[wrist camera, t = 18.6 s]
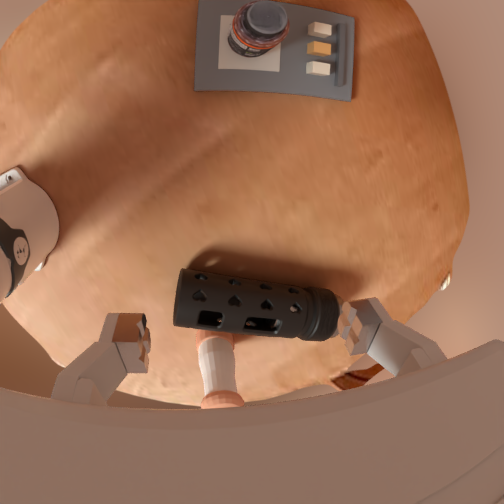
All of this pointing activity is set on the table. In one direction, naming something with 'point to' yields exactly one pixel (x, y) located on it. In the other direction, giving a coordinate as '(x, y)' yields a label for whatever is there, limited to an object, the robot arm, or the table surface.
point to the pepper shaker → (217, 369)
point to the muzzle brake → (255, 307)
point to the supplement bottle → (258, 28)
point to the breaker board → (277, 54)
